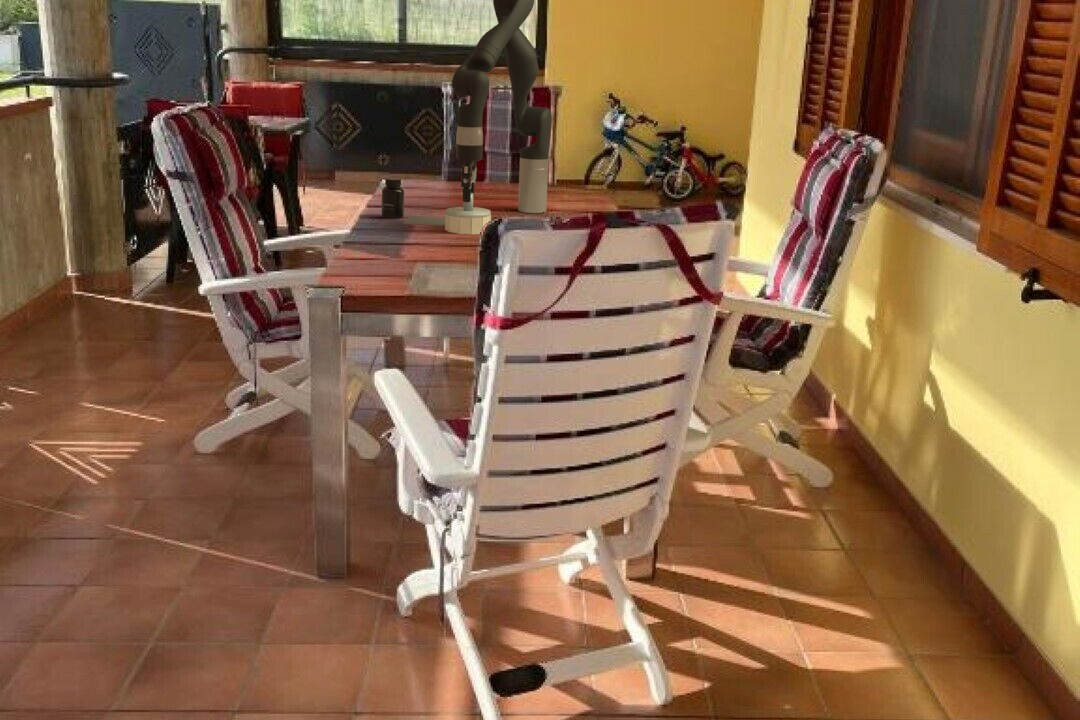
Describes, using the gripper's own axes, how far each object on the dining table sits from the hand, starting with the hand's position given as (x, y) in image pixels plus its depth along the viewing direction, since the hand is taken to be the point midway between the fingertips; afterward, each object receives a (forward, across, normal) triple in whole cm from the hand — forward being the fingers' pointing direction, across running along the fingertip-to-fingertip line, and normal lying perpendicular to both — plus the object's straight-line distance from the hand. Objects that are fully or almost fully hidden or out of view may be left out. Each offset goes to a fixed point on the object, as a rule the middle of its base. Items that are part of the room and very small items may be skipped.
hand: (468, 199), depth 304 cm
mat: (+9, +11, +13) cm, 19 cm away
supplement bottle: (+9, +15, +25) cm, 31 cm away
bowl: (+9, 0, 0) cm, 9 cm away
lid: (+4, 0, 0) cm, 4 cm away
